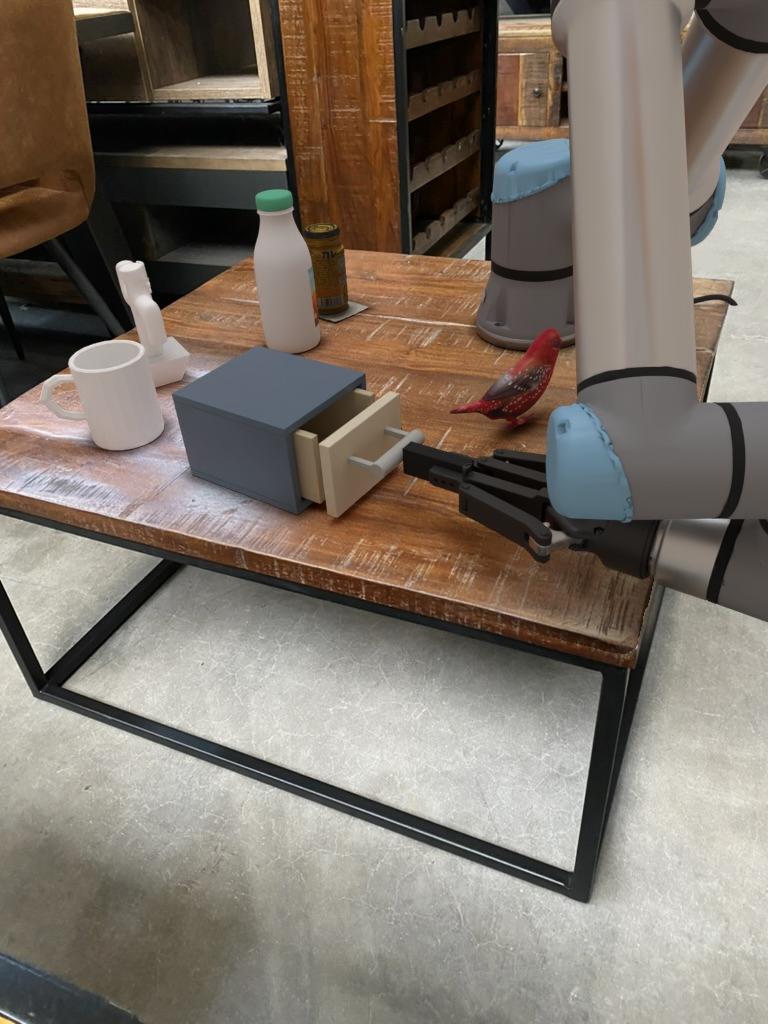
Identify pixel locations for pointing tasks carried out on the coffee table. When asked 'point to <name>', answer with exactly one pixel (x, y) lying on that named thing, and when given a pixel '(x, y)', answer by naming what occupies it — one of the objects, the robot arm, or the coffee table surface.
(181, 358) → the figurine
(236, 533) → the coffee table surface
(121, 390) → the mug
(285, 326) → the milk bottle
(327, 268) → the condiment
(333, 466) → the drawer
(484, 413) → the decorative bird figurine
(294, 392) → the cabinet
